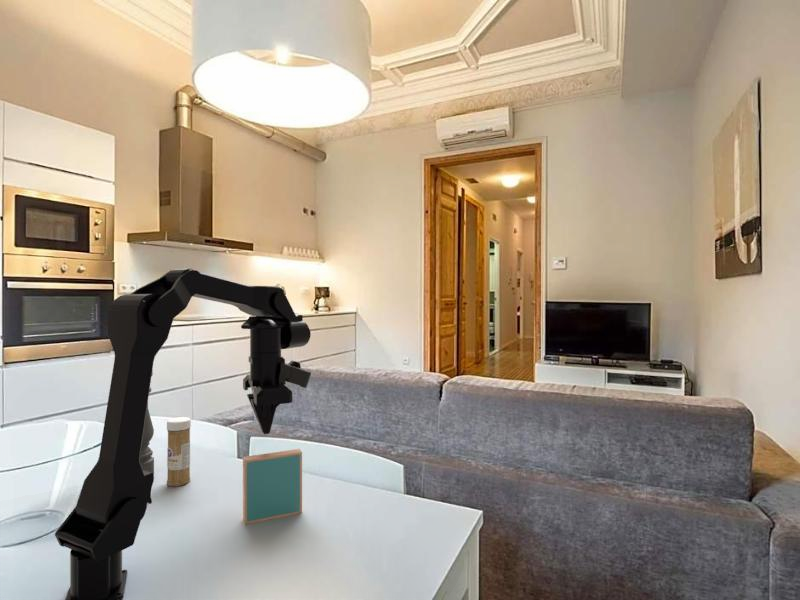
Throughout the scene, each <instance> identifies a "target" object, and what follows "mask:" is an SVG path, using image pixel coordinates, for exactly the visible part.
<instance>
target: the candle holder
mask: <svg viewBox="0 0 800 600" xmlns="http://www.w3.org/2000/svg"><path fill="white" fill-rule="evenodd" d="M153 371H154V370H153V369H152V376H153V375H154V373H153ZM151 392H152V388H151V387H150V390H149V394H150V393H151ZM154 433H155V429H154V425H153V421H152V418H151V413H150V410H149V402H148V403H147V410H146V417H145V424H144V431H143V438H142V445H141V451H140V464H141V467H142V470H144V471H148V472H152V473H154V474H155V457H153V453H154V451H153V450H152V449H151V448H150V446H149V445H150V442H151V441H152V439H153V436H154Z"/></svg>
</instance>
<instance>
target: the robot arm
mask: <svg viewBox="0 0 800 600" xmlns="http://www.w3.org/2000/svg"><path fill="white" fill-rule="evenodd" d="M192 297H194V298H198V299H204V300H206V301H207V300H208V301H212V302H218V303H222V304H227V305H231V306H234V307H236V308H238V310H239V311H240V312H243V313H245V314H247V315H250V316H249V317H248V319H247V320H246V321H244V322H243V323H242V324H241V325H240V327H241V329H242V330H249V337H250V338H249V341H250V342H249V344H250V347H249V348H250V349H249V356H248V362H249V366H250V367H249V369H250V371H249V374H247V375H246V376H245V377H244V378H243V379H242V389H243V390H244V391H248V390H249V388H250V389H251V393H247V394H246V396H247V398H248V401H249V404H250V405H251V408H252V411H253V413H254V415H255V418H256V421H257V423H258V425H259V427H260V430H261V432H263V434H264V435H269V434H270V433H271V429H272V425H273V421H274V418H275V415H276V414H275V413H276V411H277V410H276V409H277V408H278V407H279V406H280V405H285V404H291V403H293V391H292V390H291V389H290V388H289V387H288V386H286V385H287V384H286V383H290V384H293V385H296V386H300V388H305V389H307V387H308V384H309V381H310V378H311V375H312V372H311V371H309V370H308V369H304V368H302V366H301V363H300V362H298V361H296V360H293V359H292V360H291V361H289V363H286V359H285V358H284V356H282V350H287V349H294V348H300V347H305V346H306V345H307V344H308V343H309V342H310V339H311V335H312V334H311V330H310V328H309V325H308V324H307V323H306V322H305V321H304V320H303V315H302V314H296V313H295V311H294V310H293V307H292V305H291V303H290V301H289V299H288V298H287V296H286V293H285V290H284V289H283V288H282V287H280V286H273V285H247V284H243V283H242V282H241V283H240V282H237V281H233V280H229V279H225V278H222V277H218V276H215V275H211V274H207V273H204V272H200V271H199V270H196V269H194V268H173V269H170V270H169V271H167V272H166V273H165V274H163V275H162V276H161V277H159V278H157V279H155V280H153V281H151V282H148V283H147V284H145V285H143V286H140V287H138V288H137V289H136V290H134V291H132V292H131V293H127V294H126V293H125V294H122V295H119V296H118V297H117V298H115V299H113V300H112V301H111V302H110V304H109V305H108V308H107V335H108V338H109V341H110V344H111V347H112V349H113V350H112V351H113V353H114V360H113V361H114V362H113V368H112V374H111V381H110V386H109V391H108V397H107V398H108V399H107V406H106V410H105V411H106V412H105V418H104V424H103V431H102V436H101V444H100V450H99V455H98V456H99V457H98V460H97V461H96V464H95V465H94V466H93V468H92V469H91V471H90V472H89V473H88V475H87V476H86V477H85V479H84V480H83V483H82V486H81V489H80V492H79V495H78V499H77V501H76V506H75V507H74V508H73V509H72V511H71V512H70V513H69V515H68V516H67V517H66V518H65V520H64V521H63V522H62V523H61V525H60V526H59V527H58V529H57V530H56V531H55V532H54V537H55V538H56V541H57V543H58V545H59V547H63V548H64V547H65V548H68V549H70V552H69V555H70V559H69V561H70V563H69V564H70V565H69V567H70V568H69V569H70V571H69V572H70V574H69V576H70V580H69V581H70V586H69V588H68V591H67V594H66V597H65V599H64V600H121V599H123V598H124V595H125V589H126V584H127V578H128V569H123V551H124V550H126V549H128V548H130V547H132V546H133V545H134V544H135V540H136V537H137V534H138V532H139V531H138V530H139V527H140V525H141V521H142V520H143V518H144V517H145V514H146V511H147V507H148V504H149V505H151V504H152V503H153V501H152V488H153V485H154V481H155V472H154V473H152V472H148V471H144V470H142V467H141V464H140V451H141V445H142V438H143V431H144V424H145V417H146V410H147V403H148V404H149V397H150V396H149V395H150V393H149V390H150V388H151V383H152V377H153V375H152V369H153V368H154V361H155V357H156V356H157V355H158V352H160V351H161V349H162V347H163V345H164V344H166V341H167V340H168V338H169V334H170V333H171V332H170V331H171V328H172V326H173V325H172V324H173V323H174V319H175V318H177V316H178V315H179V314H181V313H182V312H183V311H184V310H186V308H187V307H188V305H189V303H190V301H191V299H192Z"/></svg>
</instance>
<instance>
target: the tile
mask: <svg viewBox="0 0 800 600" xmlns="http://www.w3.org/2000/svg"><path fill="white" fill-rule="evenodd" d="M302 513H303V451H302V450H301V448H297V449H296V448H295V449H290V450H283V451H282V450H281V451H277V452H269V453H268V452H267V453H261V454H260V453H259V454H254V455H246V456H242V520H243V524H244V525H248V524H252V523H258V522H263V521H267V520H273V519H278V518H282V517H287V516H291V515H297V514H302Z"/></svg>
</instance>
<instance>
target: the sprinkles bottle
mask: <svg viewBox="0 0 800 600" xmlns="http://www.w3.org/2000/svg"><path fill="white" fill-rule="evenodd" d="M191 423H192V422H191V418H190V417H188V416H179V417H172V418H170V419H167V421H166V430H167V455H166V457H167V458H166V460H167V461H166V468H167V478H166V479H167V480H166V484H167V485H168V486H170V487H179V486H183V485H185V484H188V483H189V482H190V481H191V476H190V474H191V473H190V472H191V426H192V424H191Z"/></svg>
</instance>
